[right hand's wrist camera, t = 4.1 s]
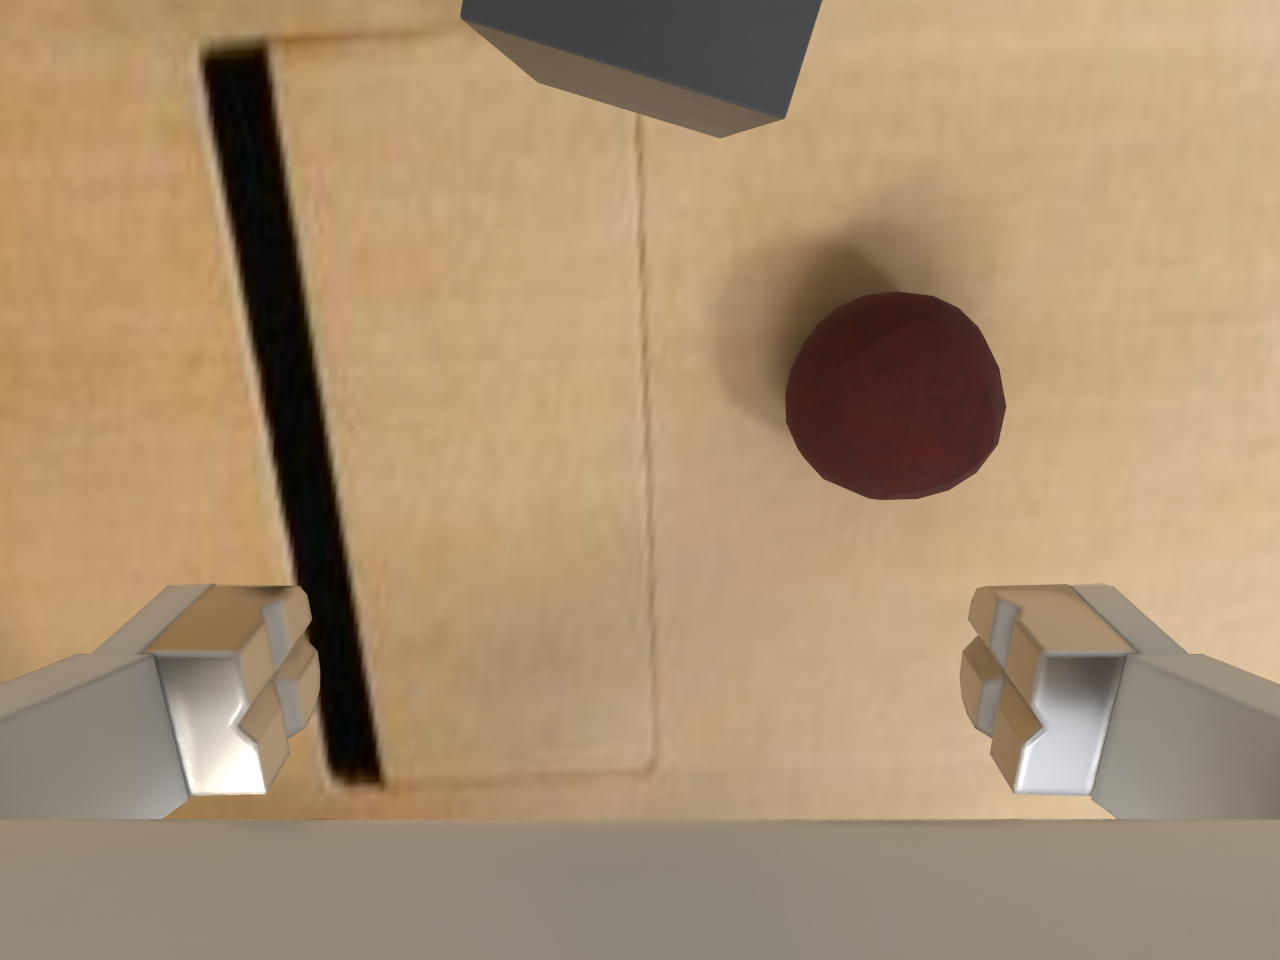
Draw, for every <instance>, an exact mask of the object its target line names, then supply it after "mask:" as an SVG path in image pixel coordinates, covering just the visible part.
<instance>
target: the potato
mask: <svg viewBox="0 0 1280 960" xmlns="http://www.w3.org/2000/svg"><path fill="white" fill-rule="evenodd" d="M1005 410H1006V403H1005V398H1004V392H1003V387H1002V381H1001V376H1000V370H999V367H998V365H997V363H996V361H995V359H994V357H993V355H992V352H991V350H990V348H989V346H988V344H987V342H986V340H985V338H984V336H983V335H982V333H981V331H980V329H979V328H978V326H977V325H976V324H975V323H974V322H973V321H971V320H970V319H969V318H968V317H967V316H966V315H965V314H964V313H963V312H962V311H961V310H960V309H959V308H957V307H955V306H953V305H951V304H949V303H947V302H945V301H943V300H941V299H938V298H936V297H934V296H928V295H920V294H912V293H904V292H897V291H896V292H889V293H881V294H874V295H867V296H863V297H860V298H858V299H856V300H853V301H851V302H849V303H846V304H844V305H842V306H839V307H838V308H836V309H835V310H834V311H833V312H832V313H830V314H829V315H828V316H827V317H826V318H824V319H823V320H822V321H821V322H820V323H819V324H818V325H817V326H816V327H815V329H814V330H813V331H812V333H811V334H810V335H809V337H808V338H807V339H806V341H805V342H804V343H803V345H802V347H801V349H800V351H799V353H798V355H797V357H796V359H795V361H794V363H793V365H792V368H791V372H790V376H789V380H788V384H787V388H786V423H787V425H788V427H789V430H790V432H791V434H792V437H793V439H794V441H795V444H796V446H797V448H798V450H799V451H800V453H801V454H802V456H803V457H804V458H805V459H806V460H807V462H808V463H809V464H810V465H811V466H812V467H813V468H814V469H815V470H816V471H817V472H818V473H819V475H820V476H821V477H822V478H823V479H825V480H827V481H829V482H832V483H834V484H836V485H839V486H841V487H843V488H846V489H848V490H850V491H853V492H855V493H857V494H860V495H862V496H864V497H867V498H870V499H878V500H896V499H919V498H922V497H926V496H930V495H933V494H937V493H940V492H944V491H947V490H950V489H951V488H953V487H955V486H956V485H958V484H959V483H961V482H962V481H964V480H966V479H967V478H969V477H970V476H972V475H974V474H975V473H977V471H978V470H979V469H980V467H981V466H982V465H983V463H984V462H985V461H986V459H987V458H988V457H989V455H990V454H991V453H992V451H993V450H994V449H995V448H996V446H997V445H998V441H999V437H1000V432H1001V428H1002V423H1003V419H1004V414H1005Z"/></svg>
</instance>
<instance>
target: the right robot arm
mask: <svg viewBox="0 0 1280 960" xmlns="http://www.w3.org/2000/svg"><path fill="white" fill-rule="evenodd" d="M311 620H312V617H311V612H310V607H309V602H308V597H307V594H306V593H305V592H304V591H303V590H302V589H301V587H300V586H263V585H215V584H187V585H170V586H167V587H166V588H165V589H164V590H163V591H162V592H160V593H159V594H158V595H157V596H156V597H155V598H154V599H153V600H151V601H150V602H149V603H148V604H147V605H146V606H145V607H144V608H142V609H141V610H140V611H139V612H138V613H137V614H136V615H135V616H133V617H132V618H131V619H130V620H129V621H128V622H127V623H126V624H124V625H123V626H122V627H121V628H120V629H119V630H118V631H117V632H115V633H114V634H113V635H112V636H111V637H110V638H109V639H108V640H106V641H105V642H104V643H103V644H102V645H101V646H100V647H99V648H97V649H96V650H95V651H94V652H93V653H92V654H76V655H74V656H71V657H69V658H66V659H64V660H61V661H59V662H56V663H54V664H51V665H48V666H46V667H43V668H41V669H38V670H36V671H33V672H31V673H28V674H26V675H23V676H20V677H18V678H15V679H13V680H10V681H8V682H5V683H3V684H0V960H1280V684H1277V683H1275V682H1272V681H1270V680H1267V679H1264V678H1262V677H1259V676H1257V675H1254V674H1252V673H1249V672H1247V671H1244V670H1242V669H1239V668H1237V667H1234V666H1231V665H1229V664H1226V663H1224V662H1221V661H1219V660H1216V659H1214V658H1211V657H1209V656H1206V655H1204V654H1188V653H1187V652H1186V651H1185V650H1184V649H1183V648H1181V647H1180V646H1179V645H1178V644H1177V643H1176V642H1175V641H1174V640H1173V639H1171V638H1170V637H1169V636H1168V635H1167V634H1166V633H1165V632H1164V631H1162V630H1161V629H1160V628H1159V627H1158V626H1157V625H1156V624H1155V623H1153V622H1152V621H1151V620H1150V619H1149V618H1148V617H1147V616H1146V615H1145V614H1143V613H1142V612H1141V611H1140V610H1139V609H1138V608H1137V607H1136V606H1134V605H1133V604H1132V603H1131V602H1130V601H1129V600H1128V599H1127V598H1125V597H1124V596H1123V595H1122V594H1121V593H1120V592H1119V591H1118V590H1117V589H1115V588H1114V587H1113V586H1109V585H1106V584H1081V585H1068V584H1061V585H1019V586H986V587H981V588H977V589H976V592H975V594H974V596H973V598H972V600H971V605H970V611H969V617H968V620H969V622H970V623H971V625H972V626H973V628H974V629H975V631H976V633H977V634H978V636H977V637H976V638H975V639H974V640H973V641H972V642H971V643H970V644H969V645H968V646H967V647H966V648H965V649H964V650H963V653H962V661H961V669H960V684H961V695H962V700H963V703H964V706H965V709H966V712H967V715H968V717H969V718H970V720H971V722H972V724H973V725H974V727H975V728H976V729H977V730H979V731H981V732H982V733H984V734H986V735H987V736H989V737H991V738H992V744H991V750H990V755H991V756H992V758H993V760H994V761H995V763H996V765H997V766H998V768H999V770H1000V771H1001V773H1002V775H1003V776H1004V778H1005V780H1006V781H1007V783H1008V785H1009V786H1010V788H1011V790H1012V791H1013V793H1014V794H1034V795H1072V796H1092V798H1091V800H1093V801H1094V802H1095V803H1097V804H1098V805H1100V806H1101V807H1102V808H1104V809H1105V810H1106V811H1108V812H1109V813H1110V814H1112V815H1113V816H1115V817H1116V818H1117V819H163V818H164V817H166V816H167V815H168V814H170V813H171V812H173V811H174V810H175V809H177V808H178V807H179V806H181V805H182V804H183V803H185V802H186V801H188V799H189V798H188V796H208V795H244V794H266V793H267V791H268V790H269V788H270V786H271V785H272V783H273V781H274V780H275V778H276V776H277V775H278V773H279V771H280V770H281V768H282V766H283V765H284V763H285V761H286V760H287V758H288V756H289V754H290V750H289V744H288V738H290V737H291V736H293V735H294V734H296V733H298V732H299V731H301V730H303V729H304V728H305V727H306V725H307V724H308V722H309V720H310V718H311V716H312V715H313V713H314V710H315V706H316V702H317V698H318V693H319V689H320V666H319V660H318V653H317V650H316V649H315V648H314V647H313V646H312V645H311V644H310V643H309V642H308V641H307V640H306V639H305V638H304V637H303V636H302V634H303V633H304V631H305V629H306V628H307V626H308V625H309V623H310V622H311Z"/></svg>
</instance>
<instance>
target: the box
mask: <svg viewBox="0 0 1280 960" xmlns="http://www.w3.org/2000/svg"><path fill="white" fill-rule="evenodd" d="M821 2H822V0H463V3H462V9H461V14H460V16H461V19H462V20H464V21H465V22H466V23H467V24H468V25H470V26H471V27H472V28H473V29H474V30H476V31H477V32H478V33H479V34H480V35H482V36H483V37H484V38H485V39H486V40H488V41H489V42H490V43H491V44H492V45H494V46H495V47H496V48H497V49H498V50H500V51H501V52H502V53H503V54H504V55H506V56H507V57H508V58H509V59H510V60H511V61H513V62H514V63H515V64H516V65H517V66H519V67H520V68H521V69H522V70H523V71H525V72H526V73H527V74H528V75H529V76H531V77H532V78H533V79H534V80H535V81H537V82H538V83H541V84H544V85H548V86H551V87H554V88H558V89H561V90H564V91H567V92H571V93H574V94H577V95H580V96H584V97H587V98H590V99H593V100H597V101H600V102H603V103H607V104H610V105H613V106H616V107H620V108H623V109H626V110H629V111H633V112H636V113H639V114H642V115H646V116H649V117H652V118H655V119H659V120H662V121H665V122H669V123H672V124H675V125H678V126H682V127H685V128H688V129H691V130H695V131H698V132H701V133H704V134H708V135H711V136H714V137H718V138H722V137H726V136H729V135H732V134H736V133H739V132H742V131H745V130H749V129H752V128H755V127H759V126H762V125H765V124H768V123H772V122H775V121H778V120H782V119H784V118H785V117H786V114H787V111H788V108H789V104H790V101H791V98H792V95H793V92H794V88H795V85H796V82H797V79H798V76H799V73H800V69H801V66H802V63H803V60H804V57H805V53H806V50H807V47H808V44H809V41H810V37H811V34H812V31H813V28H814V25H815V22H816V18H817V15H818V12H819V9H820V6H821Z"/></svg>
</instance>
